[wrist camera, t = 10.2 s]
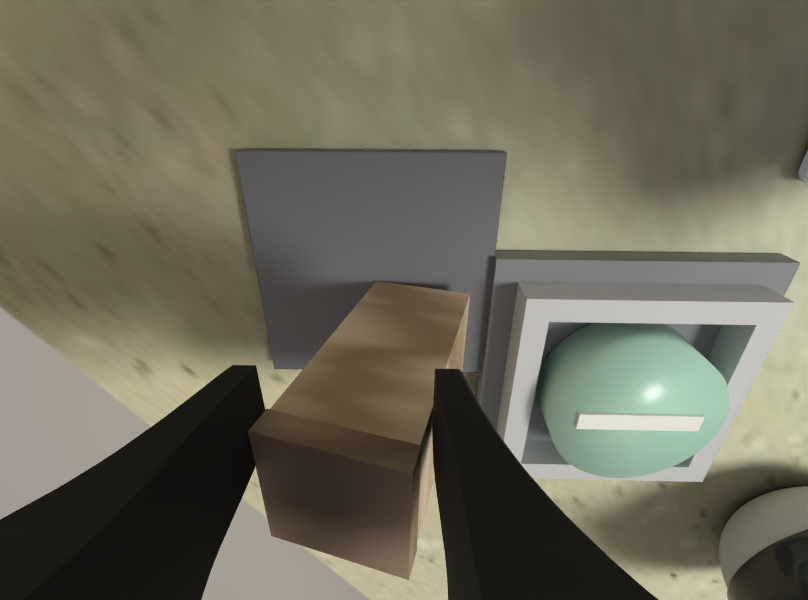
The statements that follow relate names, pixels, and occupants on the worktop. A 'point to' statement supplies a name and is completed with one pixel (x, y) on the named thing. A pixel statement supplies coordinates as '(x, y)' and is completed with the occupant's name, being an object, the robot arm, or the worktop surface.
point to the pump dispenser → (767, 547)
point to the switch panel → (624, 303)
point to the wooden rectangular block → (362, 429)
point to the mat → (367, 235)
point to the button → (629, 399)
